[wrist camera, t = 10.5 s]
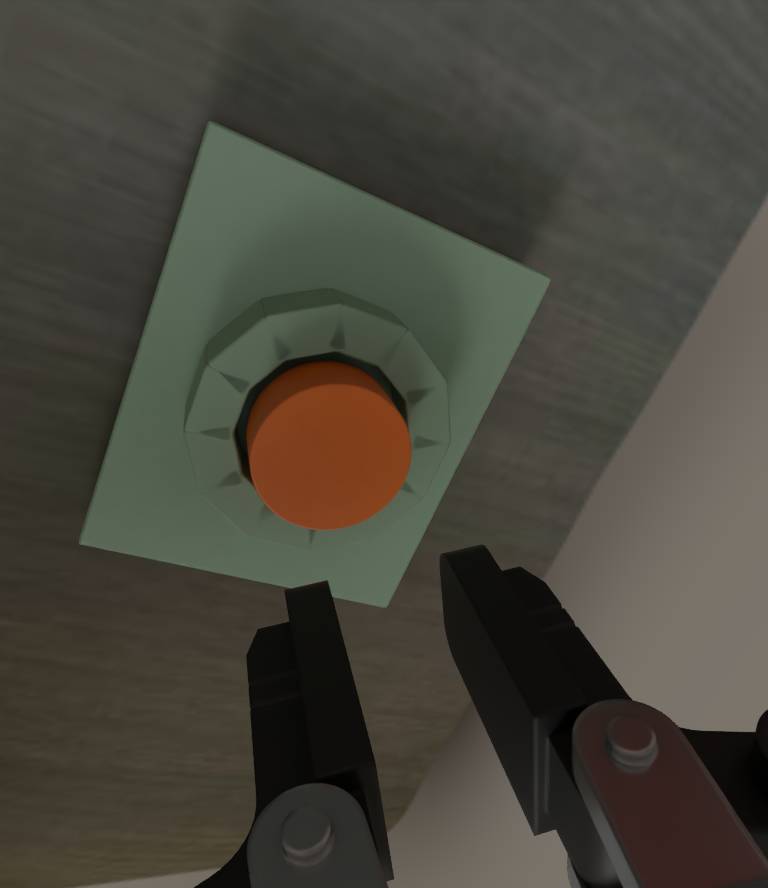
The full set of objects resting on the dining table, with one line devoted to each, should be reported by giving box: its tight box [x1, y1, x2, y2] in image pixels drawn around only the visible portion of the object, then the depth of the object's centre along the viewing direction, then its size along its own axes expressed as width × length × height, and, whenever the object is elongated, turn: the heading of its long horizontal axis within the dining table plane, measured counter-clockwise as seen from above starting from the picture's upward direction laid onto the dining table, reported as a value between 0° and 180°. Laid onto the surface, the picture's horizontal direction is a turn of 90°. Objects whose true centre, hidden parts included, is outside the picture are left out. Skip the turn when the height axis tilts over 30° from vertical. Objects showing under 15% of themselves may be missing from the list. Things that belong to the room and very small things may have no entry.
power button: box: [246, 361, 412, 530], centre depth 17 cm, size 4×4×2 cm
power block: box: [79, 121, 551, 608], centre depth 19 cm, size 12×10×4 cm
